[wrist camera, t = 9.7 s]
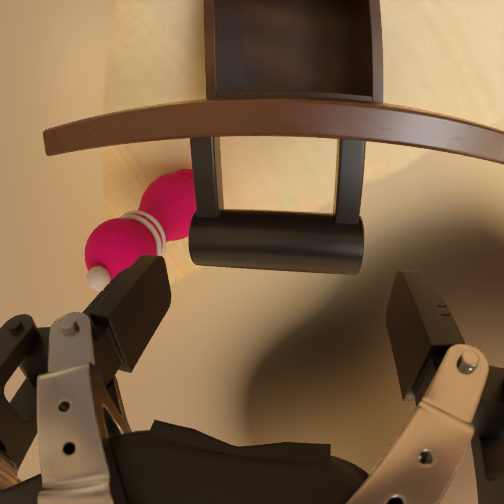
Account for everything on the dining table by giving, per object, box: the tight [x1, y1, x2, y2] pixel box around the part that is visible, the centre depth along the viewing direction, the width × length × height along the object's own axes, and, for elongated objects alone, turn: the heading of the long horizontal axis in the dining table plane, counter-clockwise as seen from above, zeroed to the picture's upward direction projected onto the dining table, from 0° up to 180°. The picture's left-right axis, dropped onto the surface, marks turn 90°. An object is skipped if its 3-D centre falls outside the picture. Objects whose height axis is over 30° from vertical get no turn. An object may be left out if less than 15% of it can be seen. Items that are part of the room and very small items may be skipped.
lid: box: [43, 96, 504, 275], centre depth 13 cm, size 15×13×5 cm
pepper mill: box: [85, 170, 196, 291], centre depth 28 cm, size 7×7×20 cm
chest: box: [204, 0, 383, 103], centre depth 21 cm, size 15×13×12 cm
